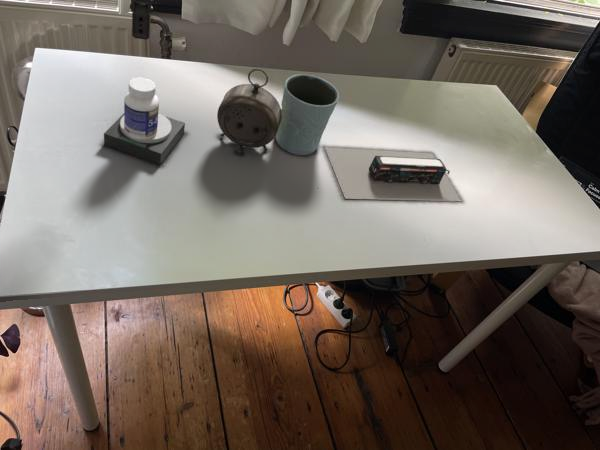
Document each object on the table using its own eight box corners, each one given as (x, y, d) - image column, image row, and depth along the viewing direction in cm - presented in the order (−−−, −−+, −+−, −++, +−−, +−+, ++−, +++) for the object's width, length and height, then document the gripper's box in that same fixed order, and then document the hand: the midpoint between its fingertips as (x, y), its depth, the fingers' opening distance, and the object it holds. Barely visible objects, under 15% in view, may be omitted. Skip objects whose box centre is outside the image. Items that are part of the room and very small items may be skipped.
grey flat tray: (461, 201, 97) (471, 185, 94) (345, 198, 88) (352, 181, 85) (431, 153, 106) (440, 138, 103) (324, 147, 97) (330, 130, 94)
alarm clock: (274, 147, 93) (294, 71, 82) (267, 164, 89) (288, 87, 78) (218, 130, 93) (231, 51, 81) (210, 146, 89) (222, 65, 78)
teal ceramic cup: (313, 127, 101) (329, 75, 93) (327, 159, 95) (347, 107, 87) (266, 125, 98) (279, 71, 89) (278, 158, 91) (293, 103, 83)
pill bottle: (153, 143, 81) (155, 97, 75) (120, 136, 80) (120, 89, 74) (160, 124, 84) (162, 79, 78) (129, 118, 84) (129, 71, 77)
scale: (160, 164, 82) (161, 150, 80) (104, 145, 82) (103, 129, 80) (184, 133, 90) (185, 119, 87) (132, 115, 89) (132, 100, 87)
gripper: (178, -82, 54) (169, 52, 66) (175, -118, 64) (168, 5, 75) (106, -98, 52) (109, 44, 63) (114, -133, 61) (115, -4, 73)
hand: (141, 23), depth 69 cm, fingers open, 8 cm apart
